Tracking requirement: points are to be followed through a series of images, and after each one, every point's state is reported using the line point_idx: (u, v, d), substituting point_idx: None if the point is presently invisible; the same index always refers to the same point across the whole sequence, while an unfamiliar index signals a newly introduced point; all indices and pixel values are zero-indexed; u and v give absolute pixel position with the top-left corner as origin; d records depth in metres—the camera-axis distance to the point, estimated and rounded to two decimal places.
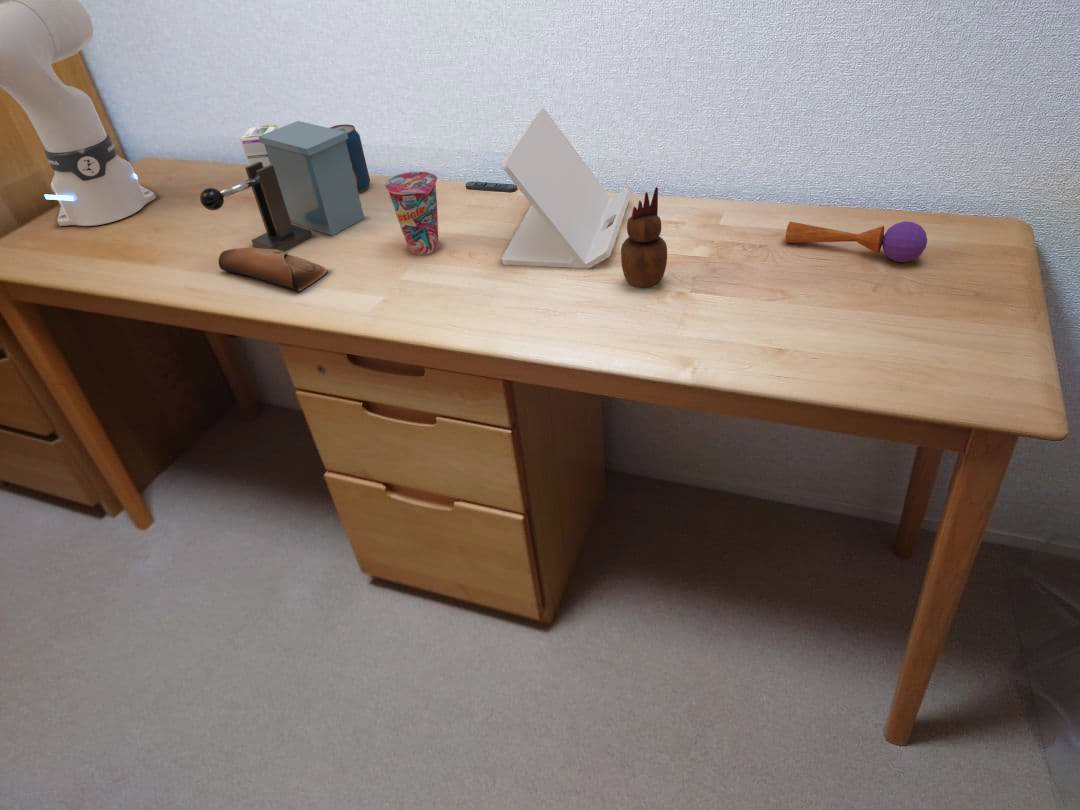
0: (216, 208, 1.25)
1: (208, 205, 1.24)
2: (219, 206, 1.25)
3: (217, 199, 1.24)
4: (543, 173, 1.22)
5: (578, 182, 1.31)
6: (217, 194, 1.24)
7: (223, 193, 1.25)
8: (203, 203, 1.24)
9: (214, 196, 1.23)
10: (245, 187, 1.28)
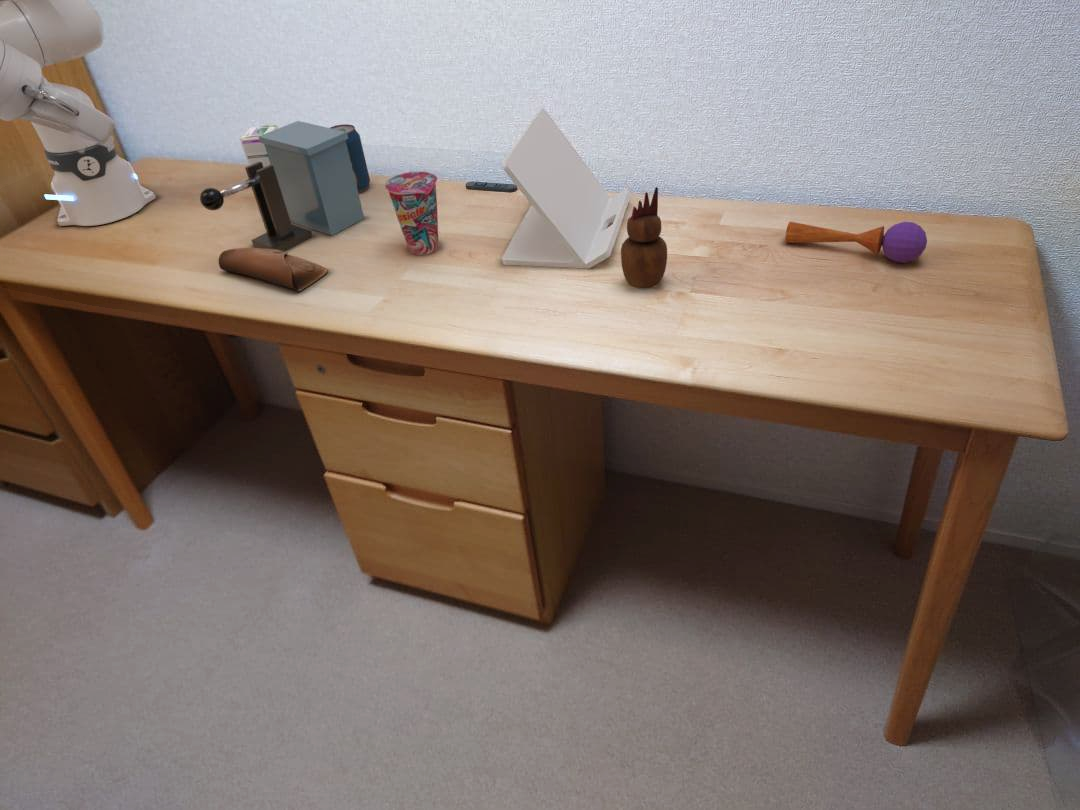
0: (216, 208, 1.25)
1: (208, 205, 1.24)
2: (219, 206, 1.25)
3: (217, 199, 1.24)
4: (543, 173, 1.22)
5: (578, 182, 1.31)
6: (217, 194, 1.24)
7: (223, 193, 1.25)
8: (203, 203, 1.24)
9: (214, 196, 1.23)
10: (245, 187, 1.28)
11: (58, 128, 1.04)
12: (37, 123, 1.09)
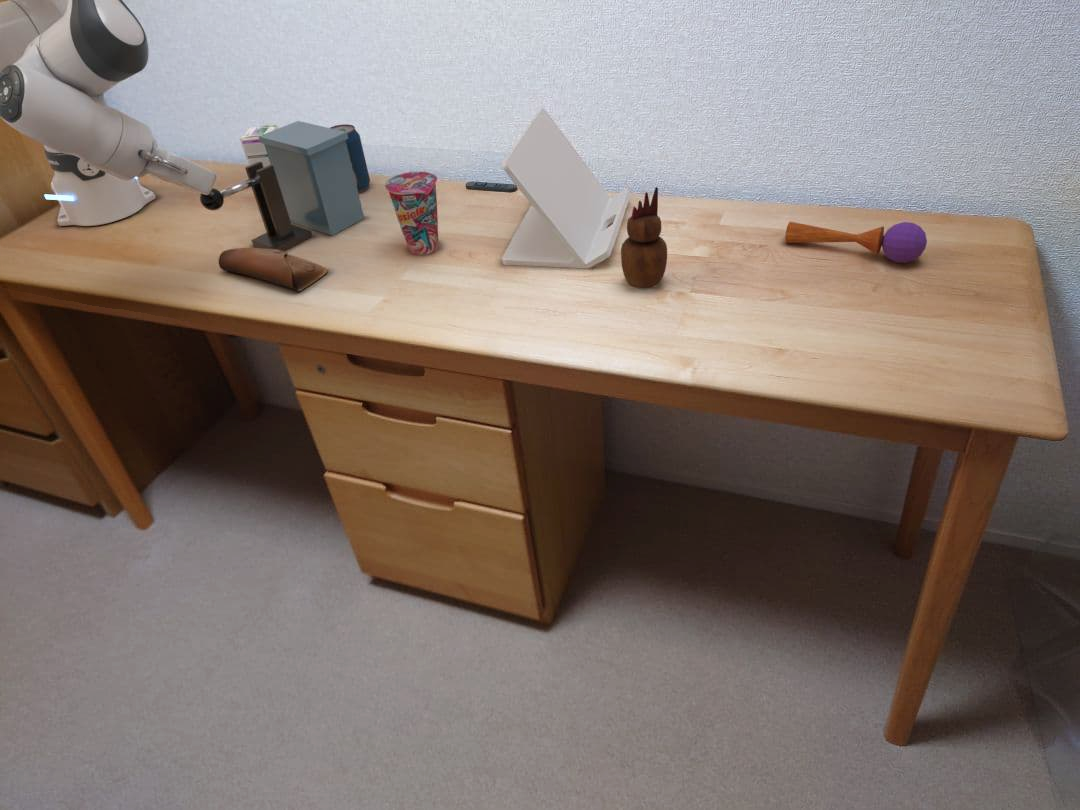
0: (216, 208, 1.25)
1: (208, 205, 1.24)
2: (219, 206, 1.25)
3: (217, 199, 1.24)
4: (543, 173, 1.22)
5: (578, 182, 1.31)
6: (217, 194, 1.24)
7: (223, 193, 1.25)
8: (203, 203, 1.24)
9: (214, 196, 1.23)
10: (245, 187, 1.28)
11: (166, 180, 1.18)
12: None
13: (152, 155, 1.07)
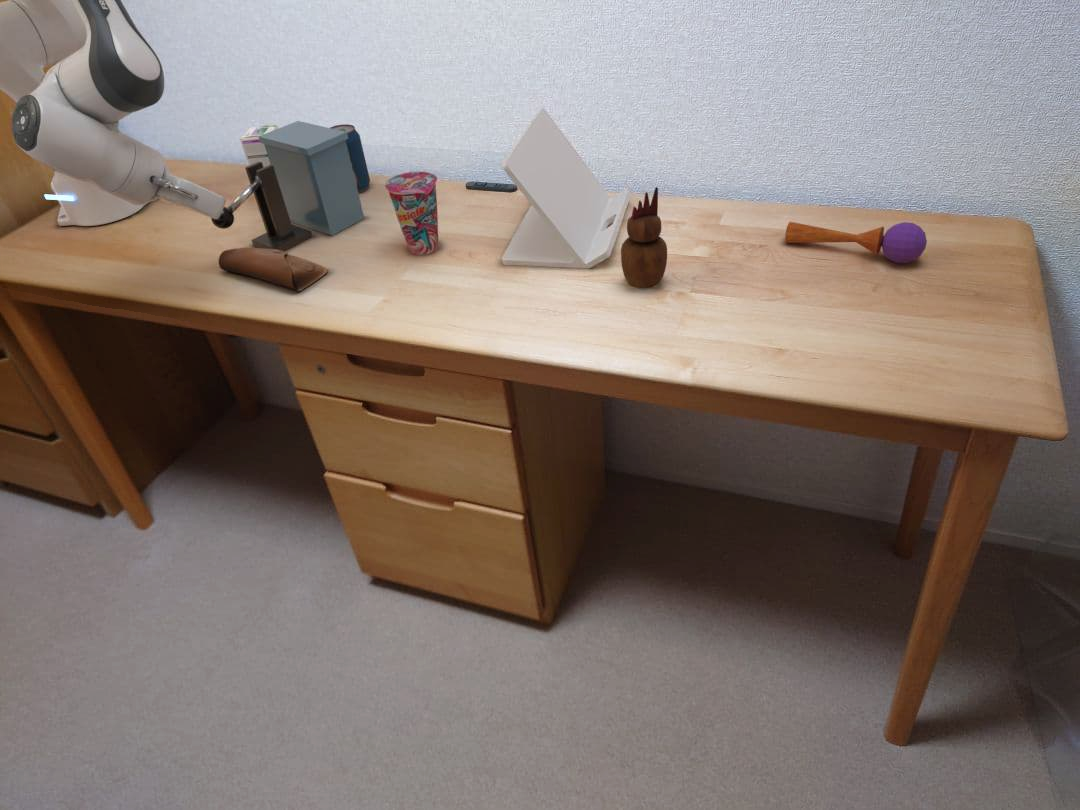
0: (229, 226, 1.27)
1: (221, 226, 1.27)
2: (231, 223, 1.27)
3: (227, 218, 1.26)
4: (543, 173, 1.22)
5: (578, 182, 1.31)
6: (226, 213, 1.26)
7: (231, 208, 1.27)
8: (216, 225, 1.27)
9: (223, 217, 1.26)
10: (249, 194, 1.29)
11: (176, 204, 1.20)
12: None
13: (164, 181, 1.10)
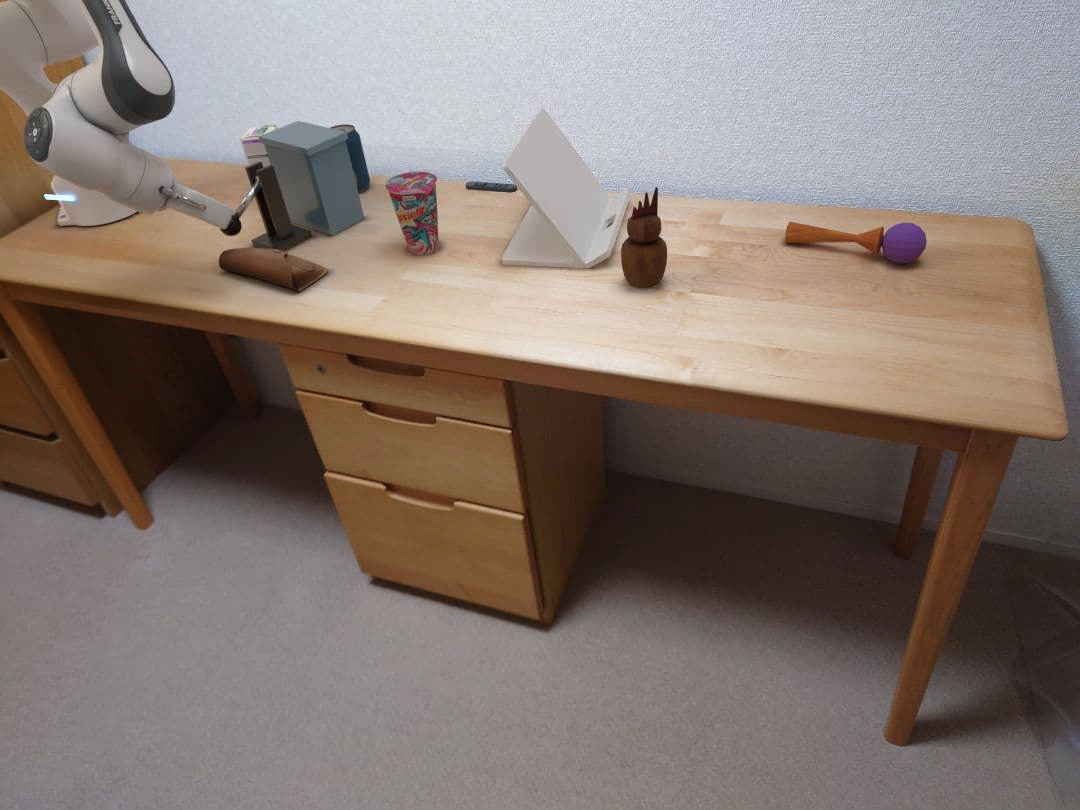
0: (238, 233, 1.29)
1: (230, 234, 1.28)
2: (239, 230, 1.29)
3: (234, 226, 1.28)
4: (543, 173, 1.22)
5: (578, 182, 1.31)
6: (232, 221, 1.27)
7: (237, 215, 1.29)
8: (225, 234, 1.28)
9: (231, 225, 1.27)
10: (252, 197, 1.30)
11: None
12: None
13: (173, 192, 1.11)
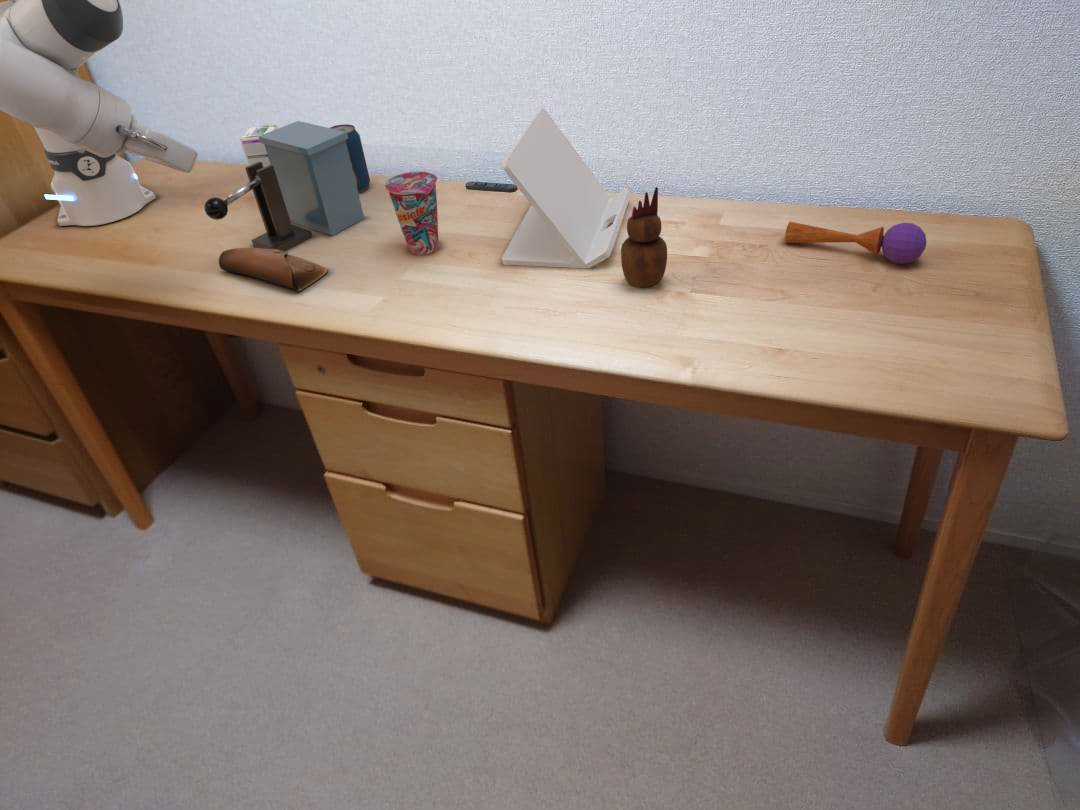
0: (221, 217, 1.26)
1: (213, 215, 1.25)
2: (224, 215, 1.26)
3: (221, 208, 1.25)
4: (543, 173, 1.22)
5: (578, 182, 1.31)
6: (220, 204, 1.25)
7: (226, 201, 1.26)
8: (208, 214, 1.25)
9: (218, 206, 1.24)
10: (247, 191, 1.29)
11: (146, 158, 1.14)
12: (125, 152, 1.19)
13: (130, 130, 1.04)
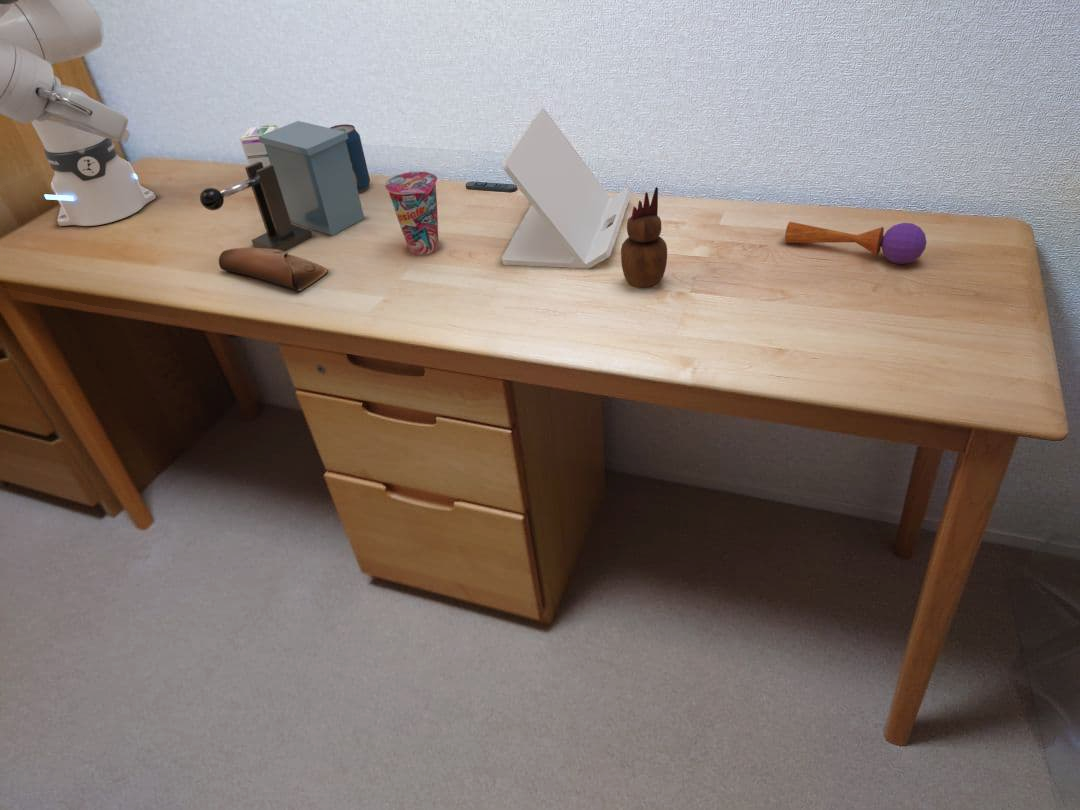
0: (216, 208, 1.25)
1: (208, 205, 1.24)
2: (219, 206, 1.25)
3: (217, 199, 1.24)
4: (543, 173, 1.22)
5: (578, 182, 1.31)
6: (217, 194, 1.24)
7: (223, 193, 1.25)
8: (203, 203, 1.24)
9: (214, 196, 1.23)
10: (245, 187, 1.28)
11: (74, 126, 1.05)
12: (55, 121, 1.10)
13: (49, 92, 0.95)
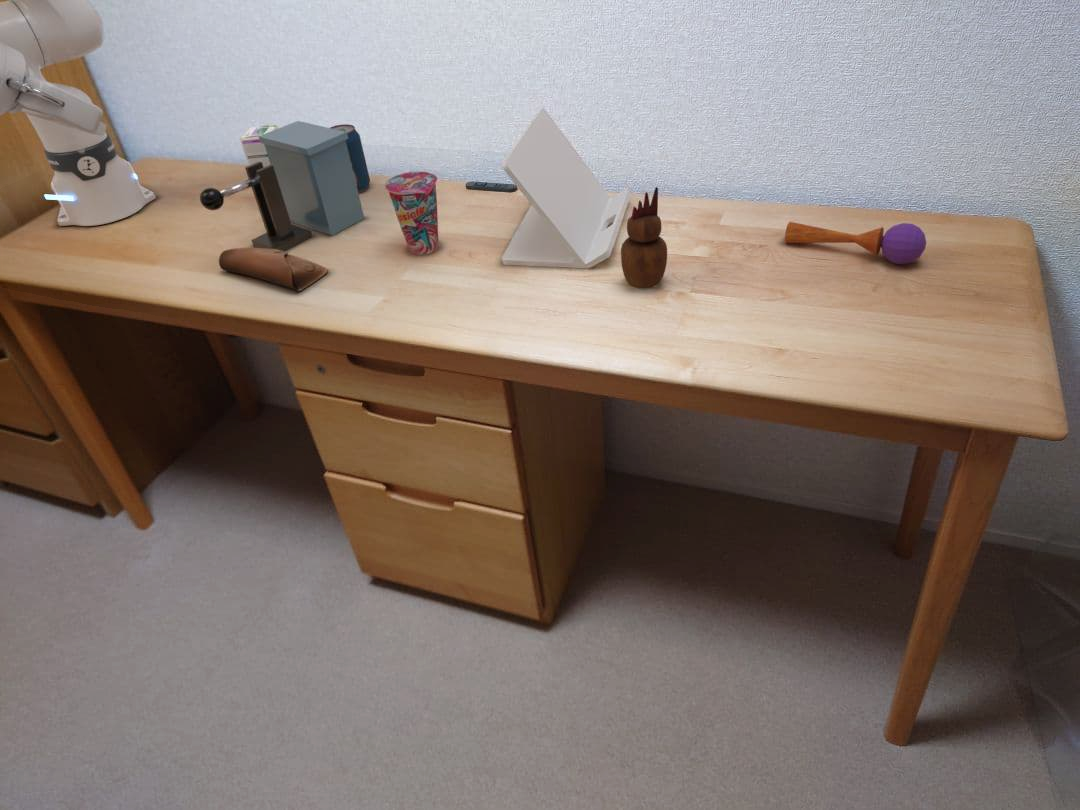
0: (216, 208, 1.25)
1: (208, 205, 1.24)
2: (219, 206, 1.25)
3: (217, 199, 1.24)
4: (543, 173, 1.22)
5: (578, 182, 1.31)
6: (217, 194, 1.24)
7: (223, 193, 1.25)
8: (203, 203, 1.24)
9: (214, 196, 1.23)
10: (245, 187, 1.28)
11: (49, 119, 1.03)
12: (30, 114, 1.08)
13: (20, 83, 0.92)
